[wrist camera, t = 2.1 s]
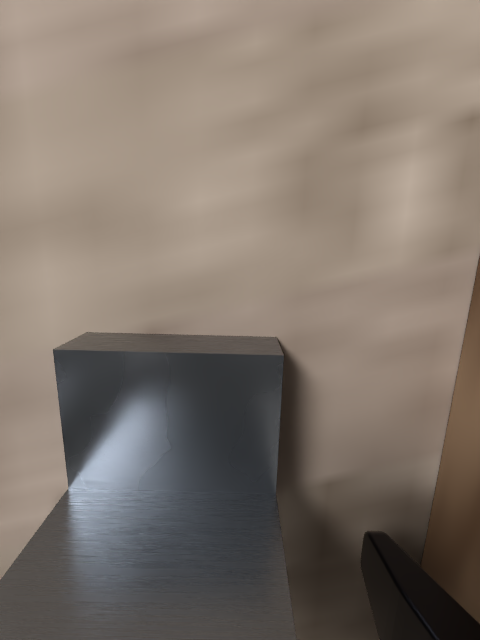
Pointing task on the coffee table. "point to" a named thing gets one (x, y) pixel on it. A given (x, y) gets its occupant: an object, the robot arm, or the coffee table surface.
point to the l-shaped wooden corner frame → (460, 482)
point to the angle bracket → (160, 496)
